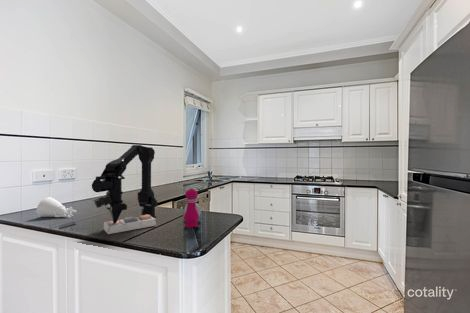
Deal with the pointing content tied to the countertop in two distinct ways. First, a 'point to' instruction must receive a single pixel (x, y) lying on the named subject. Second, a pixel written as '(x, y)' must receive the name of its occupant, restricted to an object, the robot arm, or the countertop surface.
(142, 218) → the key
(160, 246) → the countertop surface
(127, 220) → the middle key
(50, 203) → the rocket engine
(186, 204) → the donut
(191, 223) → the pepper mill
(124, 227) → the compartment tray
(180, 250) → the countertop surface
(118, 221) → the key
